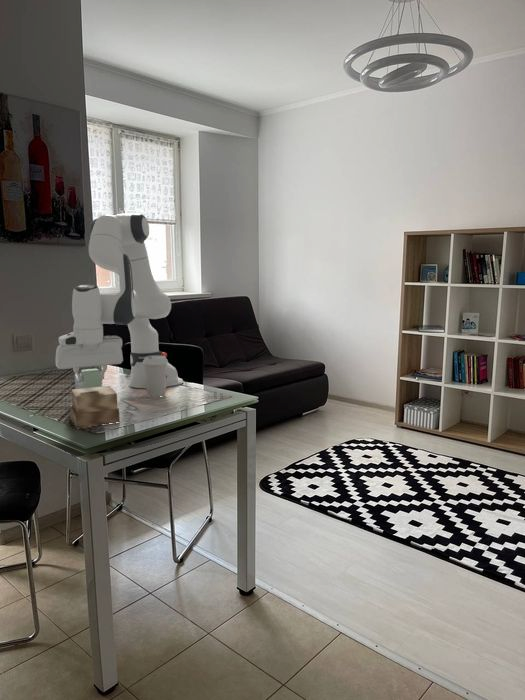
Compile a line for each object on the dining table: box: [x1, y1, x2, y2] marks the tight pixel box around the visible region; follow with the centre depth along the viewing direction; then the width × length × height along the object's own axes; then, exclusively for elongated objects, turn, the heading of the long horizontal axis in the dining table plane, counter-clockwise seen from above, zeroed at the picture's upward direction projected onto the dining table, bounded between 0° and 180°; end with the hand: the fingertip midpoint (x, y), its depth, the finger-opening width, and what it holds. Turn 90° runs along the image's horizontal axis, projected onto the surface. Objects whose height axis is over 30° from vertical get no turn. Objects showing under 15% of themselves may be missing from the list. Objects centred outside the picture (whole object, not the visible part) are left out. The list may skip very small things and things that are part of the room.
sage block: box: [80, 368, 102, 388], centre depth 164 cm, size 5×5×5 cm
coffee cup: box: [143, 356, 169, 398], centre depth 198 cm, size 10×10×15 cm
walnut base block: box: [69, 403, 121, 429], centre depth 166 cm, size 13×13×5 cm
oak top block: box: [71, 385, 119, 414], centre depth 165 cm, size 12×12×5 cm
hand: (91, 380), depth 164 cm, fingers closed on sage block, 5 cm apart
